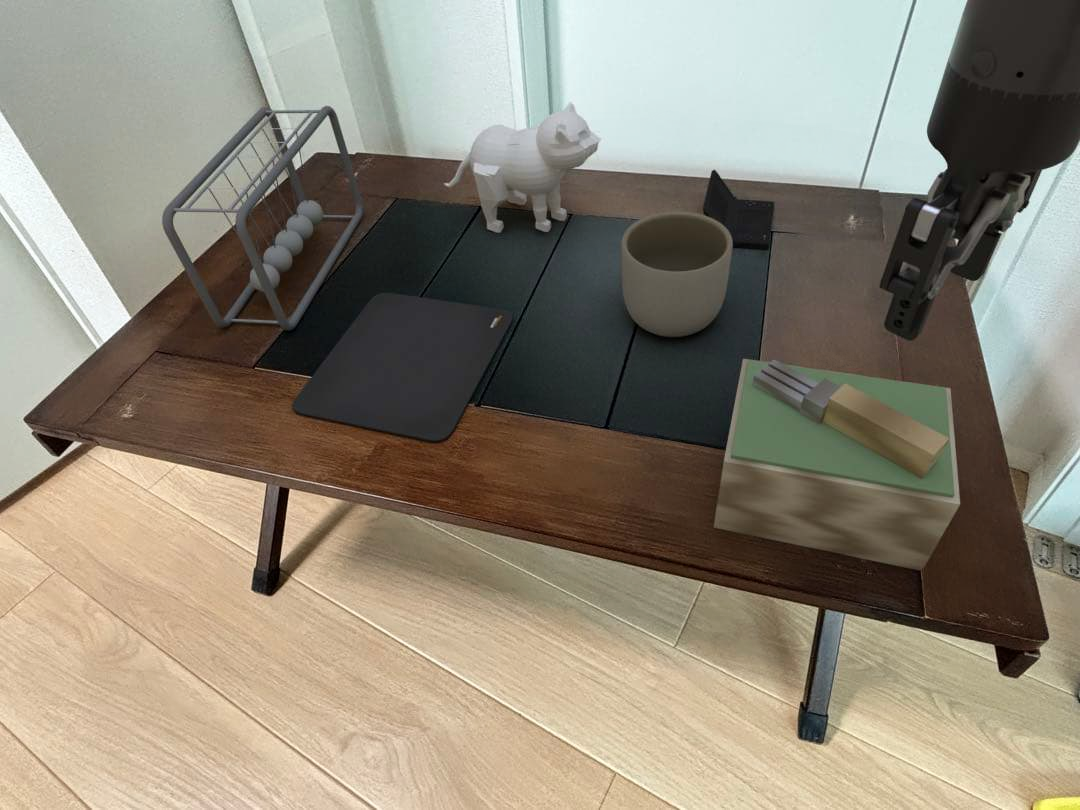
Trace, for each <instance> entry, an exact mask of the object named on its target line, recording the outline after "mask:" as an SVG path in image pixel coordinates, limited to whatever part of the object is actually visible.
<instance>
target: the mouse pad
mask: <svg viewBox="0 0 1080 810" xmlns="http://www.w3.org/2000/svg"><path fill="white" fill-rule="evenodd" d="M513 320H514V316H513V312H511V311H509V310H506V309H503V308H497V307H489V306H484V305H474V304H469V303H463V302H456V301H448V300H442V299H434V298H428V297H421V296H414V295H407V294H401V293H395V292H380V293H377V294H375V295H374V296H373V297H371V298H370V299H369V301H368V302H367V304H366V305H365V306H364V308H363V309H362V310H361V311H360V313H359V314H358V315H357V317H356V318H355V319H354V320H353V322H352V323H351V324H350V326H349V327H348V329H346V331H345V332H344V333H343V334H342V336H341V338H340V339H339V340H338V341H337V343H336V344H335V346H334V347H332V349H331V351H330V352H329V353H328V355H327V356H326V357H325V358H324V360H323V361H322V363H321V364H320V365H319V367H318V368H317V369H316V371H315V372H314V373H313V375H312V376H311V377H310V378H309V380H308V381H307V382H306V383H305V385H304V386H303V388H302V389H301V390H300V392H298V394H297V395H296V397H295V398H294V400H293V402H292V405H291V406H292V407H291V408H292V410H293V411H294V412H295V413H296V414H298V415H300V416H305V417H311V418H315V419H320V420H325V421H328V422H334V423H338V424H343V425H349V426H353V427H358V428H362V429H367V430H373V431H377V432H382V433H387V434H392V435H396V436H402V437H407V438H411V439H416V440H422V441H426V442H432V443H439V442H443V441H445V440H447V439H448V438H450V436H451V435H452V434H453V433H454V431H455V429H456V427H457V426H458V424H459V422H460V420H461V418H462V416H463V414H464V412H465V410H466V409H467V407H468V405H469V404H470V401H471V399H472V398H473V395H474V394H475V392H476V390H477V388H478V386H479V384H480V383H481V381H482V379H483V377H484V375H485V374H486V371H487V370H488V368H489V366H490V364H491V362H492V360H493V358H494V357H495V355H496V353H497V352H498V349H499V348H500V345H501V344H502V342H503V340H504V338H505V337H506V334H507V332H508V331H509V328H510V327H511V325H512V323H513Z"/></svg>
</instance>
